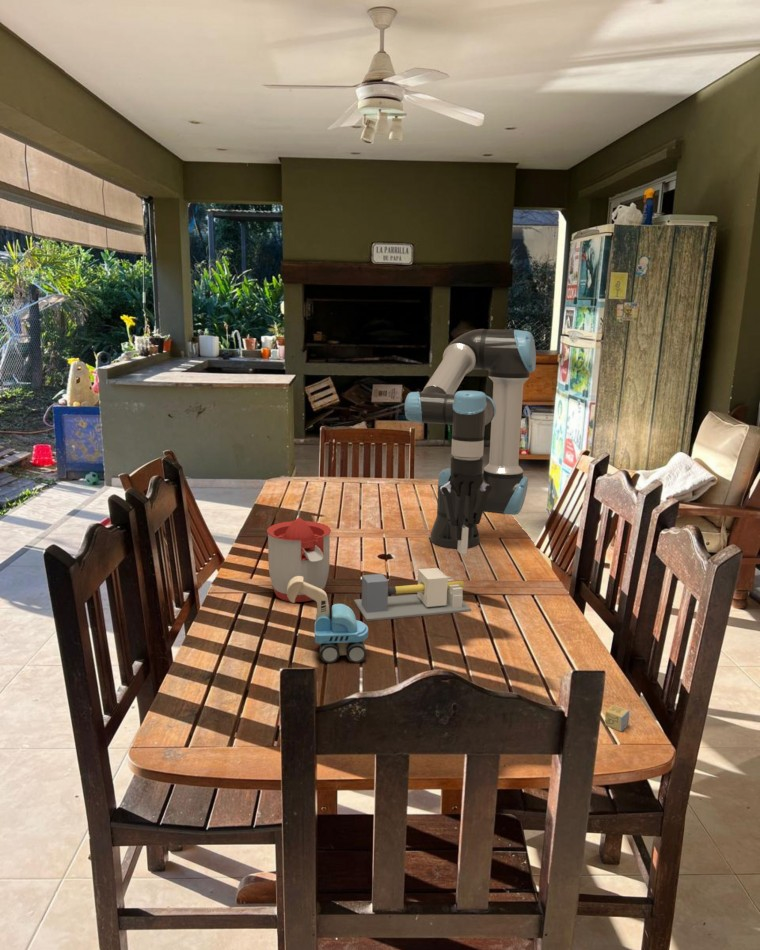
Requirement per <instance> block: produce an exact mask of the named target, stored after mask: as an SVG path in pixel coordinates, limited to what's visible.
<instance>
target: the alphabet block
mask: <svg viewBox="0 0 760 950" xmlns="http://www.w3.org/2000/svg"><path fill="white" fill-rule="evenodd" d="M630 712H631V711H630V709H626V708H624V707H621V706H618V705H617V704H612V705H611V706H610V707H608V708H607V709H606V710H605V716H604V717H605V719H604V721H605V722H604V726H606V727H608V728H610V729H614V730H616V731H618V732H623V731H624V730H625V729H626V728H627V727H628V726H629V721H630Z"/></svg>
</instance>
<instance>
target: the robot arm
mask: <svg viewBox="0 0 760 950" xmlns="http://www.w3.org/2000/svg"><path fill="white" fill-rule="evenodd" d="M535 344H536V343H535V339H534V335H533V334H532V333H531V332H530V331H528V330H520V329H492V328H491V329H490V328H489V329H487V328H486V329H485V328H478V329H473V330H470V331H468V332H465V333H463V334H461V335H459V336H458V337H456V338H455V339H453V340H452V341H451V342H450V343H449V344H448V345H447V347H446V348H445V349H444V352H443V354H442V360H441V362H440V363H439V364H438V366H437V368H436V370H435V371H434V373H433V374H432V375H431V377H430V378H429V380H428V381H427V383H426V384H425V386H424V387H423V390H422V391H410V392H409V393H408V394H407V395H406V398H405V400H404V416H405V418H406V420H408V421H409V422H414V423H419V424H423V423H424V424H439V425H449V426H451V425H452V433H451V434H452V435H451V436H452V437H451V452H450V453H451V456H452V457H451V458H450V467H447V468H444V469H442V470H441V471H440V472H439V474H438V479H437V480H438V482H437V505H436V506H437V507H436V517H435V520H434V523H433V526H432V529H431V531H430V537H429V538H430V539H429V540H430V542H431V543H432V544H434V545H437V546H439V547H442V548H443V547H444V548H448V549H449V548H450V549H456V550H457V552H458V553H459V554H461V555H467V554H468V548H473V547H477V545H479V544H480V537H481V536H480V532H479V528H478V525H479V524H480V523H481V520H482V515H483V513H484V512H485V513H491V514H500V515H504V516H505V515H512V516H514V515H519V514H520V512H521V511H522V509H523V507H524V503H525V498H526V495H527V491H528V486H529V478H528V477H526V476H524V469H523V468H522V467H521V466H520V465H519V459H520V447H521V446H520V444H521V443H520V442H521V429H522V428H521V426H522V410H523V398H524V397H523V394H524V385H525V383H526V382H527V381H528V380H529V379H530V373H531V374H532V373H534V372H535V370H536V363H537V354H536V353H537V351H536V345H535ZM474 370H483V371H488V378H489V379H490V380H491V381H492V383H493V384H492V385H493V388H492V397H491V396H488V395H486V393H485V392H484V391H478V390H459V391H457V390H458V388H459V386H460V385H461V383H462V381H463V380H464V377H465V376H466V375H467V374H469V373H470V372H472V371H474ZM490 423H491V424H490ZM489 424H490V439H489V441H490V442H489V443H490V444H489V459H488V460H489V462H488V464H486V466H484V467H483V464H484V460H483V458H482V457H484V450H485V449H484V447H485V446H484V445H485V430H486V429H485V427H486V426H487V425H489Z"/></svg>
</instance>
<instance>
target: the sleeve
mask: <svg viewBox="0 0 760 950" xmlns="http://www.w3.org/2000/svg"><path fill="white" fill-rule="evenodd" d="M417 571H418V572H417V573H418V575H417V585H419V584H425V590H424V592H417V593H416V594H417V596H418V597H419V599H420V600H421V601H422V602H423V603H424V604H425V606H426V607H432V606H443V605H446V603H447V579H448V578H447V577H448V576H447V575H445V573H443V572H442V571H441V570H440V569H439V568H438V567H433V568H418V569H417Z"/></svg>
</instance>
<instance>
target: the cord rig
mask: <svg viewBox="0 0 760 950" xmlns="http://www.w3.org/2000/svg"><path fill="white" fill-rule="evenodd" d="M446 577H447V578H448V579H447V603H446V605H443V606H432V607H426V606H425V604H424V603H423V602H422V601H421V600H420V599H419V597H418V596H417V594H418V592H424V590H425V584H419V585H418V584H408V585H398V586H397V585H396V586H389V580H388V579H387V578H386V576H384V574H383V573H378V574H377V573H375V574H362V576H361V599H360V598H358V599H353V602H354V604H355V606H356V607H357V608H358V610H359V611H360V613H361V615H362V616H363V618H364V620H365V622H371V621H372V622H373V621H383V620H392V619H393V620H394V619H402V618H404V619H405V618H413V617H423V616H433V615H445V614H454V613H464V612H465V613H467V612H472V610H473V609H472V608H471V607H470V606H469V604H467V603H466V602H465V601H464V600H463V599H464V595H463V591H464V590H463V589H465V583H464V581H463V580H458V581H457V580H455V579H453V578H452V576H451V575H450V576H446ZM412 593H413V594H412ZM414 593H415V594H414ZM401 594H402V595H401ZM403 594H404V595H403Z"/></svg>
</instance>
